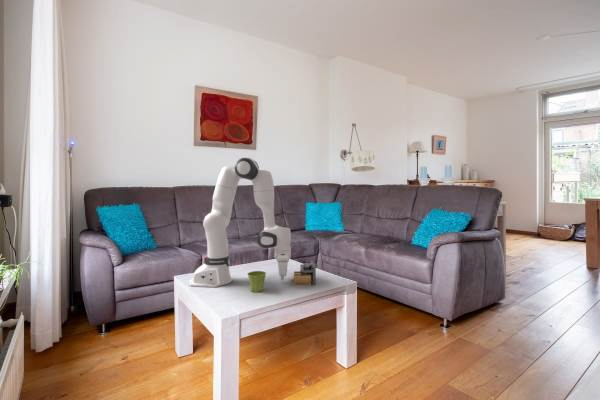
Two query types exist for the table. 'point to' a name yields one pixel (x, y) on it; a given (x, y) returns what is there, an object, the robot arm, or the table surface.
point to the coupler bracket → (309, 270)
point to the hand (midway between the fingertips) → (282, 279)
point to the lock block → (302, 278)
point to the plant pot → (256, 280)
